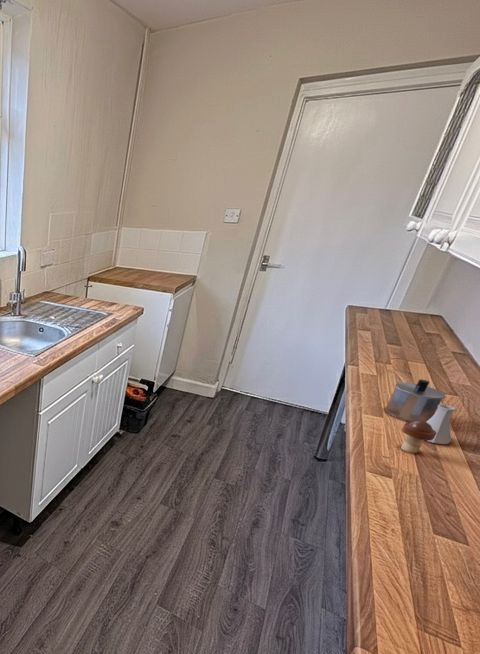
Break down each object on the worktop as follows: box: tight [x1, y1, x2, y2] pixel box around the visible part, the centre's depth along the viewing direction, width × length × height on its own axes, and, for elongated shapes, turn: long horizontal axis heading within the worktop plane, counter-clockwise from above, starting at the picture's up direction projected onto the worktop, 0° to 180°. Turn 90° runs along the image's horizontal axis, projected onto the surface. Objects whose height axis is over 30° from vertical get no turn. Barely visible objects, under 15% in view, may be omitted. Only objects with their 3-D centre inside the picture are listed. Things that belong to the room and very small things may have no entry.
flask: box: [426, 403, 457, 445], centre depth 115 cm, size 7×7×10 cm
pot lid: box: [394, 379, 446, 400], centre depth 125 cm, size 11×11×4 cm
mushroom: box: [400, 421, 436, 454], centre depth 109 cm, size 6×6×9 cm
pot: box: [384, 386, 443, 423], centre depth 127 cm, size 10×10×8 cm
